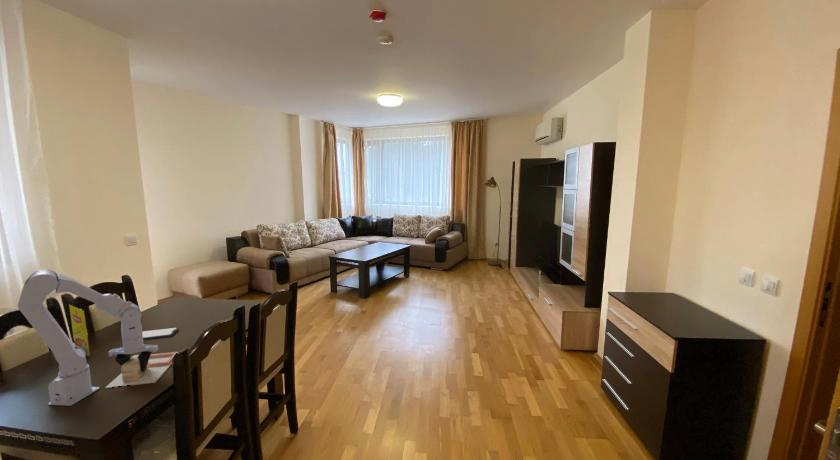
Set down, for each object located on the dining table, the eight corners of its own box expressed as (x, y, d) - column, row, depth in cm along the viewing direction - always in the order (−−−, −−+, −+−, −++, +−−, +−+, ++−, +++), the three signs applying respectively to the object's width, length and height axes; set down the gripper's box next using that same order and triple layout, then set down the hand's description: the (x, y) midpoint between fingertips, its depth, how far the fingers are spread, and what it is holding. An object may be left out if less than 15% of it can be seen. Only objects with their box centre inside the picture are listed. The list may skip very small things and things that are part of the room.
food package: (73, 348, 143) (67, 304, 141) (76, 347, 144) (71, 303, 142) (88, 357, 136) (82, 311, 134) (91, 356, 137) (85, 310, 135)
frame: (178, 354, 139) (178, 351, 139) (168, 364, 131) (168, 362, 131) (145, 357, 136) (144, 355, 136) (133, 368, 128) (132, 365, 128)
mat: (155, 382, 120) (155, 381, 120) (105, 388, 116) (105, 387, 116) (180, 354, 140) (180, 353, 140) (139, 358, 136) (138, 357, 136)
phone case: (130, 342, 151) (171, 337, 155) (130, 339, 151) (171, 334, 155) (140, 334, 159) (179, 330, 164) (140, 331, 159) (178, 326, 164)
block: (137, 380, 120) (135, 364, 119) (122, 381, 119) (121, 366, 118) (149, 368, 128) (147, 353, 127) (135, 370, 126) (133, 355, 126)
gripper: (160, 330, 127) (163, 363, 129) (115, 334, 123) (119, 368, 125) (151, 338, 120) (154, 373, 122) (103, 342, 116) (107, 378, 118)
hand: (136, 371), depth 123 cm, fingers closed on block, 4 cm apart
